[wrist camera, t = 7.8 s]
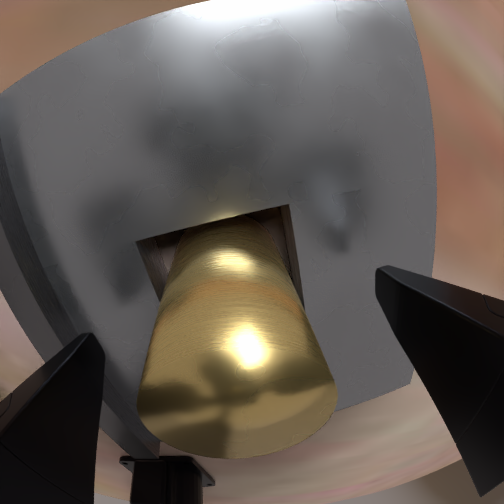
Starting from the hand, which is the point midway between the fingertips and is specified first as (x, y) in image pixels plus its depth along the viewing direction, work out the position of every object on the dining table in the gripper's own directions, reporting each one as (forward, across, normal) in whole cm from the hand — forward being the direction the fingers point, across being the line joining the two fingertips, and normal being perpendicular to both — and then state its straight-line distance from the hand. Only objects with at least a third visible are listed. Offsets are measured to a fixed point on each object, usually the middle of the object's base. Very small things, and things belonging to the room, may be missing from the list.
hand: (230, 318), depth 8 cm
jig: (+4, 0, 0) cm, 4 cm away
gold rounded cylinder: (+4, 0, 0) cm, 4 cm away
